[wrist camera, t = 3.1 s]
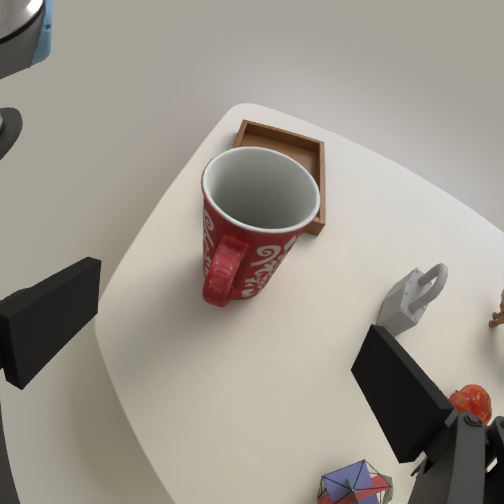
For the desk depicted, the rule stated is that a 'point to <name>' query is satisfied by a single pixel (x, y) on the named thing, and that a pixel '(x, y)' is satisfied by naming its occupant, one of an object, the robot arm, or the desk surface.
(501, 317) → the lion figurine
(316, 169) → the tray
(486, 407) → the pomegranate
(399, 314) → the padlock
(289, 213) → the mug
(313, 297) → the desk surface
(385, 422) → the robot arm
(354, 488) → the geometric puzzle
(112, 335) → the desk surface
